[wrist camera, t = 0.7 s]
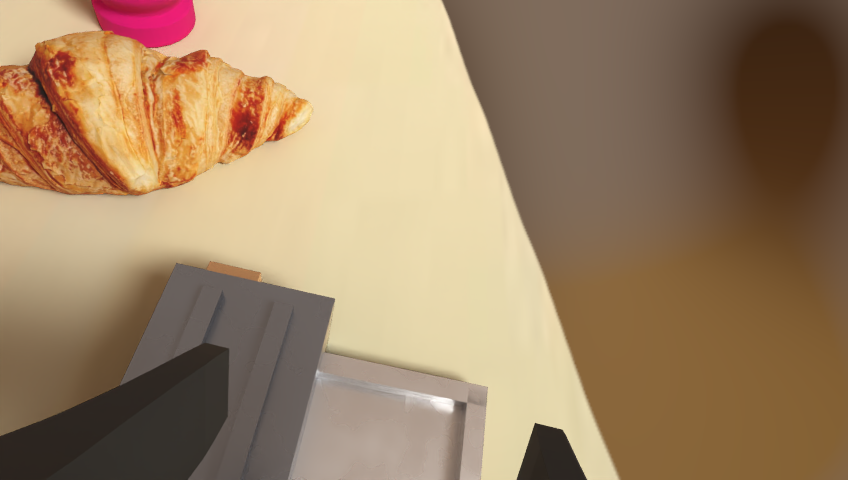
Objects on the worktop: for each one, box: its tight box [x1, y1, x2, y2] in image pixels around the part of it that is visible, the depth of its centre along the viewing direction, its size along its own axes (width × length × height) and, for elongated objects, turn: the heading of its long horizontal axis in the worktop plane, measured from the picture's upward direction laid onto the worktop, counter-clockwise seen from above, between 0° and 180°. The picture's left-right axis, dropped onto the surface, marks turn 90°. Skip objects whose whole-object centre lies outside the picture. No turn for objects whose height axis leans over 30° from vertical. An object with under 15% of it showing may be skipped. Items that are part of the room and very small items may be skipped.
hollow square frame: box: [120, 261, 488, 480], centre depth 23 cm, size 12×16×6 cm
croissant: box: [0, 31, 313, 195], centre depth 30 cm, size 21×10×8 cm, turn 110°
